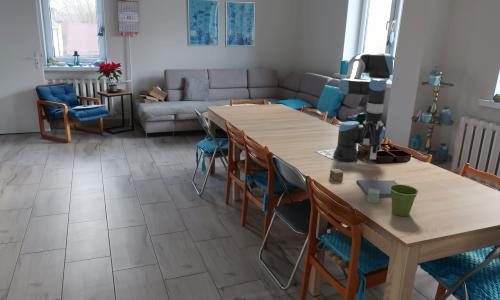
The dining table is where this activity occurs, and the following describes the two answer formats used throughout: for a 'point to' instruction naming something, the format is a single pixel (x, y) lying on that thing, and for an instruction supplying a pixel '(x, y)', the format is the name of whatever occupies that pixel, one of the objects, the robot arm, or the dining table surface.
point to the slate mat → (377, 186)
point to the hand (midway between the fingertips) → (368, 155)
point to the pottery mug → (363, 152)
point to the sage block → (373, 195)
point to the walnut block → (336, 175)
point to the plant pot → (402, 199)
